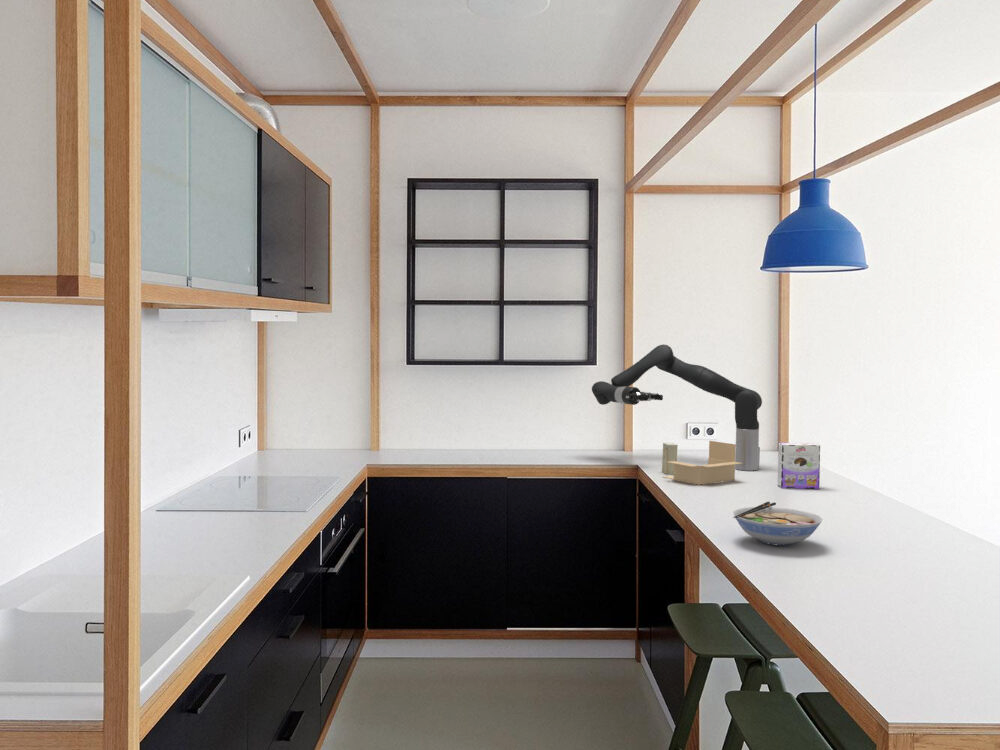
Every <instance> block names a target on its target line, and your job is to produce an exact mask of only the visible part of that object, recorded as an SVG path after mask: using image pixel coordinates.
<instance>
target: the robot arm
mask: <svg viewBox="0 0 1000 750" xmlns="http://www.w3.org/2000/svg"><path fill="white" fill-rule="evenodd" d="M654 367H656V368H658V369H659V370H660V371H663V372H666V373H668V374H671V375H673V376H676V377H678V378H680V379H682V380H683V381H685V382H687V383H689V384H691V385H693V386H694V387H697V388H698V389H700V390H702V391H704V392H706V393H708V394H712V395H715V396H719V397H723V398H725V399H728V400H730V401H731V402H733V403H734V420H735V444H736V448H735V462H739V463H742V464H737V465H735V470H738V471H752V472H753V470H754V471H758V470H760V458H761V455H760V453H761V450H760V449H761V447H760V446H759V445H760V444H759V443H760V442H759V441H760V439H759V438H760V422H759V420H758V410H759V409H760V408H761V407H762V406H763V399H762V397H761V395H760V394H759V393H758V392H757V391H755V390H752V389H751V388H747V387H745V386H742V385H739V384H737V383H735V382H733V381H731V380H730V379H728V378H726V377H724V376H722V375H721V374H719V373H717V372H716V371H713V370H711V369H710V368H707V367H706V366H703V365H700V364H693V363H688V362H685V361H683V360H681V359H680V358H678V357H677V356H675V354H674V351H673V349H672V347H671V346H670V345H668V344H659V345H658V346H656V347H654V348H653V349H652V350H650V351H649V352H648V353H647V354H646V355H644V356H643V357H642V358H640V359H639V360H638V361H636V362H635V363H634V364H633V365H631V366H629V367H628V368H626V369H625V370H623V371H621V372H620V373H618V374H616V375H614V376H613V377H611V378H610V382H607V381H604V380H603V381H602V380H601V381H596V382H594V383H593V385H592V386H591V392H592V395H594V397H595V400H596V401H597V403H598V404H600V405H603V406H604V405H608V404H610V403H611V402H612V403H619V404H624V405H631V406H632V405H634V406H635V405H638V404H639V403H640V402H651V401H663V399H664V395H663V394H659V393H654V392H653V393H652V392H648V391H647V392H646V391H641V390H640V389H639V388H638V387H635V386H632V385H634V384H635V383H636V382H638V381H639V379H640V378H642V376H643V375H644V374H645V373H647V372H648V371H649V370H651V369H652V368H654Z"/></svg>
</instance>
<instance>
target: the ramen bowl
mask: <svg viewBox="0 0 1000 750" xmlns="http://www.w3.org/2000/svg"><path fill="white" fill-rule="evenodd" d="M775 506H777V502H774V501H773V502H772V503H771V502H770V501H765V502H764V503H762V504H759V505H757V506H749V507H748V506H747V507H741V508H737V509H734V511H733V512H732V514H733V517H732V518H733V519H735V520H736V521H737V523H738V524H739V526H740V528H741V529H742V530H743V531H744V533H746V534H747V535H749V536H751V537H752V538H755V539H757V540H760V542H762V541H763V542H762V543H764V542H765V543H764V544H766V543H769V544H768V545H770V544H777V545H776V546H779V545H784V546H789V545H791V544H793V543H796V542H797V543H798V542H801V541H804V540H806V539H808V538H809V537H810V536H811V535H812V534H814V532H815V531H816V530H817V529H818V528H819V526H820V525H821V523H822V521H823V518H822V517H821V516H820V515H818V514H815V513H812V512H809V511H804V510H799V509H794V508H786V507H775ZM788 544H789V545H788Z"/></svg>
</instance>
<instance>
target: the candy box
mask: <svg viewBox="0 0 1000 750" xmlns="http://www.w3.org/2000/svg"><path fill="white" fill-rule="evenodd" d="M777 460H778V461H777V486H778V487H779V488H780V489H791V488H797V489H798V490H799V489H800V490H801V489H802V490H804V489H805V490H810V489H812V490H820V479H821V478H820V476H821V475H820V472H821V471H820V469H821V468H820V467H821V464H820V463H821V445H820V444H817V443H815V442H813V443H809V442H808V443H807V442H806V443H805V442H804V443H802V442H778V455H777Z"/></svg>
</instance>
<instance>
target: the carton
mask: <svg viewBox="0 0 1000 750" xmlns="http://www.w3.org/2000/svg"><path fill="white" fill-rule="evenodd" d="M708 442H709V444H708V446H709V447H708V460H707V462H708V464H703V465H699V464H693V463H687V462H681V461H677V462H676V461H670V462H667V463H671V464H674V474H670V475H663V476H662V478H664V479H668V478H669V479H668V480H673V481H676V482H681V481H682V483H686V482H687V483H688V484H691V483H692V484H691V485H696V484H697V486H701V485H700V484H703V485H707V484H706V483H710V484H715V483H714V482H718V483H722V482H721V481H726V482H731V481H730V480H733V481H735V478H736V475H735V474H736V469H735V465H737V464H742V463H739V462H735V453H736V443H735V444H734V443H727V442H721V441H714V440H709V441H708Z"/></svg>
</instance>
